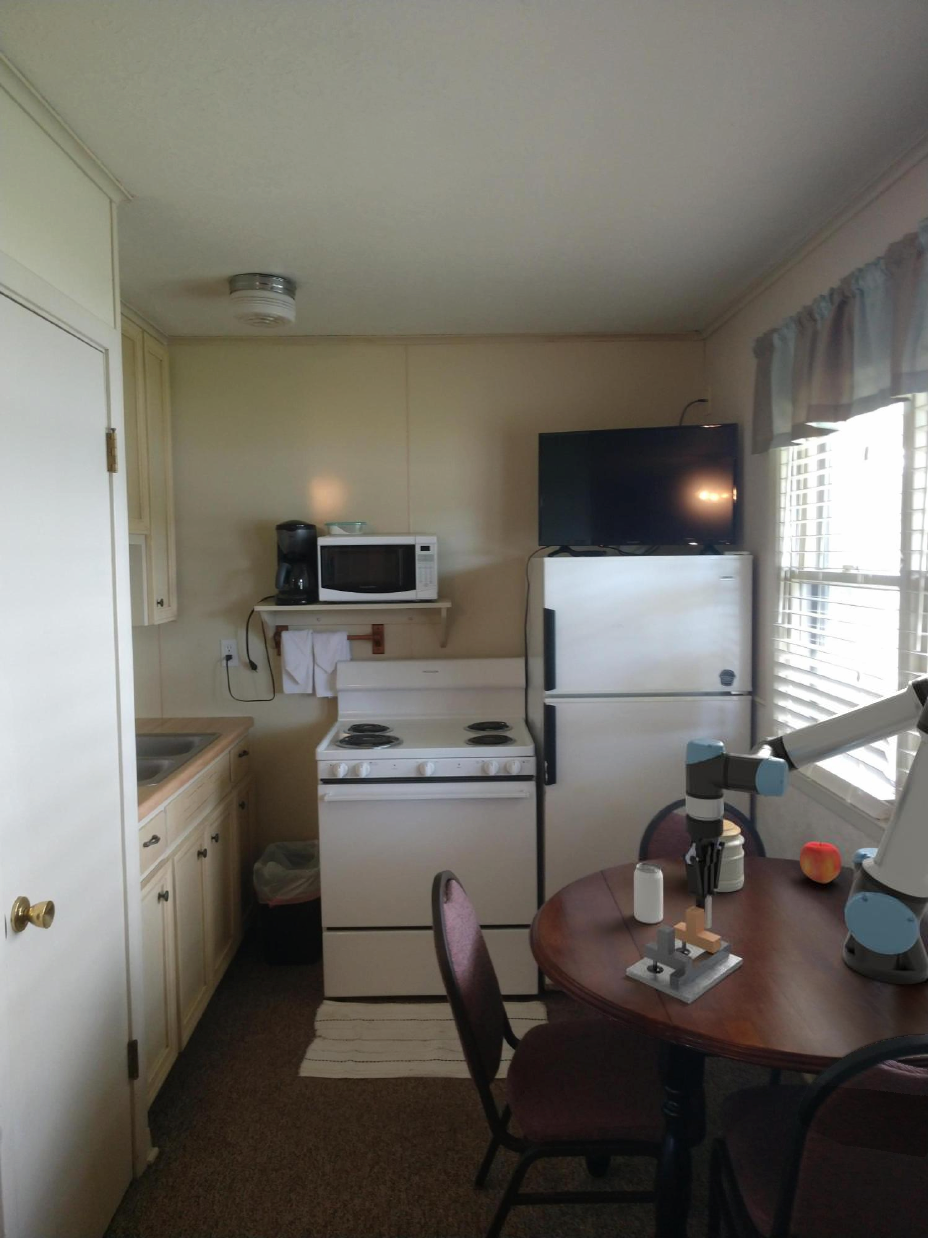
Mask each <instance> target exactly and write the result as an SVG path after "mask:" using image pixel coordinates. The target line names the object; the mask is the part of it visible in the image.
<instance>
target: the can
mask: <svg viewBox="0 0 928 1238" xmlns="http://www.w3.org/2000/svg"><path fill="white" fill-rule="evenodd" d="M661 870H662V868H661V866H660V865H659V864H656V863H653V862H640V863H638V864H636V865H635V870H634V872H633V913H634V914H633V916H634V918H635V919H636V920H637V921H638V922H640V923H642V924H648V925H650V924H652V925H654V924H658V923H660V922H661V921H662V920H663V918H664V879H663V878H664V874H663V872H662V871H661Z"/></svg>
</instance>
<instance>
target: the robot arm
mask: <svg viewBox="0 0 928 1238" xmlns="http://www.w3.org/2000/svg"><path fill="white" fill-rule="evenodd" d="M915 729H916V730H917V733H918V735H919V737H920V743H919V746H918V748H917V750H916V753H915V755H914V758H913V760H912V763H911V766H910V768H909V771H908V773H907V775H906V779H905V781H904V783H903V785H902V788H901V791H900V793H899V796H898V798H897V801H896V804H895V806H894V808H893V810H892V814H891V816H890V818H889V821H888V823H887V825H886V829H885V831H884V833H883V836H882V838H881V841H880V843H879V846H878V848H877V847H864V848H859V849H857V850H856V851H855V852H854V858H853V860H852V863H853V864H854V866H853V879H852V884H851V887H850V891H849V893H848V898H847V900H846V903H845V905H844V909H843V911H844V920H845V925H846V927H847V929H848V933H847V935H846V938H845V940H844V943H843V950H842V951H843V953H842V954H843V955H842V956H843V960H844V962H845V963H846V965H847V966H849V967H850V968H851V969H852V970H854V971H855V972H857V973H859V974H860V975H863V976H865V977H867V978H870V979H872V980H876V981H879V982H883V983H889V984H895V985H916V984H919V983H923V982H924V981H926V980H927V979H928V955H927V951H926V948H925V946H924V945H925V944H924V943H923V939H922V937H921V933H920V930H921V929H920V928H921V927H920V924H921V920H922V918H923V916H924V914H925V912H926V909H927V906H928V673H926V674H924V675H922V676H920V677H918V678H915V679H913V680H910V681H908V684H907V686H906V688H904V689H901V690H899V691H896V692H893V693H891V694H888V695H885V696H883V697H881V698H877V699H875V700H872V701H870V702H867V703H864V704H861V705H858V706H856V707H854V708H851V709H849V710H846V711H843V712H841V713H837V714H835V715H833V716H830V717H828V718H824V719H822V720H819V721H816V722H813V723H811V724H808V725H806V726H804V727H800V728H798V729H795V730H793V731H790V732H787V733H784V734H782V735H781V736H776V737H773V738H766V739H763V740H760V741H759V742H757V743H755V745H754V746H753V747H752V749H751V750H750V751H749V752H748V753H747V754H746V753H745V754H743V753H734V752H727V751H726V748H725V744H724V743H723V742H722V741H720V740H718V739H713V738H706V737H705V738H704V737H703V738H693V739H691V740H690V741H688V742H687V743H686V746H685V747H686V748H685V749H686V750H685V751H686V752H685V760H684V764H685V767H684V768H685V796H684V797H685V812H686V814H685V816H684V817H685V818H684V819H685V825H684V826H685V827H684V829H685V832H686V833H687V834H688V835H689V837H690V841H689V844H688V845H689V846H688V848H689V851H688V852H687V853H686V852H683V853H682V856H681V857H682V860H683V863H684V864H685V866H684V867H685V872H686V879H687V887H688V893H689V896H693V897H695V906H696V907H699V908H702V909H704V929H707V930H709V929H710V928H712V914H713V913H712V906H713V905H712V903H713V902H712V901H713V900H712V898H713V897H717V895H718V892H716V891H714V889H717V888H718V885H719V877H720V869H721V861H722V853H723V850H724V847H725V842H723V841H719V840H718V839H719V838H718V837H720V836H722V835H723V819H724V817H723V815H724V814H725V813H724V812H725V811H724V809H725V808H724V806H725V805H724V804H725V803H724V795H725V793H724V792H725V791H724V790H726V791H732V792H738V793H743V794H744V793H746V794H752V795H759V796H763V797H779V798H780V797H781V798H782V797H784V796H785V795H786V793H787V791H788V786H789V776H790V775H789V773H793V772H794V771H798V770H800V769H802V768H805V767H808V766H811V765H814V764H816V763H820V762H823V761H826V760H829V759H831V758H834V757H838V756H841V755H843V754H846V753H849V752H851V751H855V750H858V749H860V748H864V747H866V746H869V745H872V744H875V743H877V742H880V741H883V740H886V739H889V738H892V737H895V736H898V735H901V734H905V733H906V732H909V731H913V730H915Z"/></svg>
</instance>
